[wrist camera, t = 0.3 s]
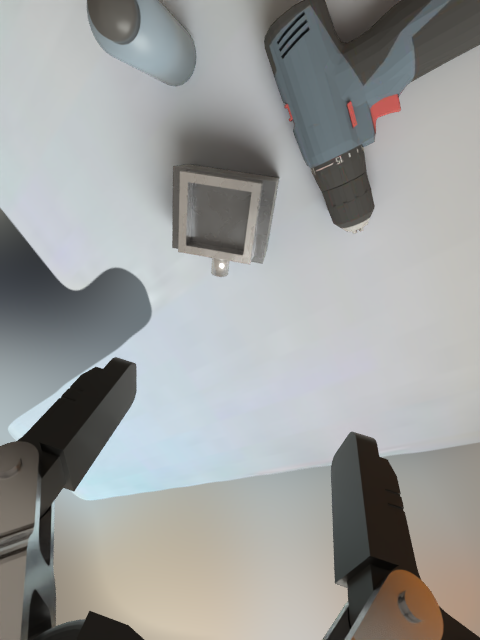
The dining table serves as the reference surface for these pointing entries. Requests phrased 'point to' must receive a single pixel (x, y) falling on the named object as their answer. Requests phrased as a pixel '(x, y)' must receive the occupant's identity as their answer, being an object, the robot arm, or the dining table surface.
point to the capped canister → (144, 38)
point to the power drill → (358, 84)
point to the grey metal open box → (222, 214)
